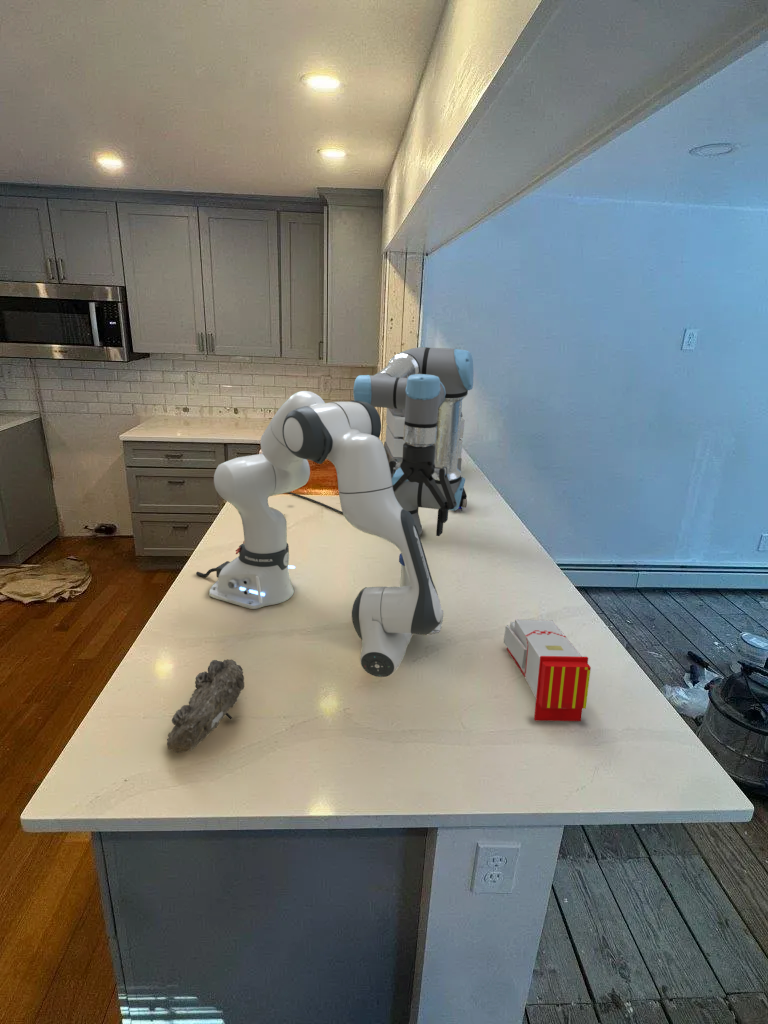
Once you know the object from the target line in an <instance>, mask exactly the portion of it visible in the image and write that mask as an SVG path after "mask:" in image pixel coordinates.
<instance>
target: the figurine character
mask: <svg viewBox="0 0 768 1024" xmlns="http://www.w3.org/2000/svg"><path fill="white" fill-rule="evenodd" d="M467 495H468V494H467V493H466V490H465V487H464V488H463V492H462V496H461V500H460V504H459V508H458V509H459V510H460V512H463V509H464V508H465V509H466V508H467V506H468V499H467V497H468V496H467ZM458 509H457V510H458Z"/></svg>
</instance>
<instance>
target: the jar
mask: <svg viewBox="0 0 768 1024" xmlns="http://www.w3.org/2000/svg"><path fill="white" fill-rule="evenodd" d="M405 586H411V584H410V581H409V577H408V574H407V570H406V567H405V566H403V565H401V564H400V576H399V587H405Z"/></svg>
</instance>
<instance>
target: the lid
mask: <svg viewBox="0 0 768 1024" xmlns="http://www.w3.org/2000/svg"><path fill="white" fill-rule="evenodd" d="M398 563H399V564H400V566H401V565H403V566H405V563H404V560H403V557H402V554H401V553H399V555H398Z"/></svg>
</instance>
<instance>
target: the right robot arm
mask: <svg viewBox="0 0 768 1024" xmlns="http://www.w3.org/2000/svg"><path fill="white" fill-rule="evenodd" d="M473 360H474V359H473V355H472V352H470V351H469V350H467V349H459V348H451V347H450V348H449V347H427V346H419V347H413V348H409V349H406V350H403V351H400V352H398V353H396V354H395V355H393V356H392V357H391V358H390V359H389V361H388V363H387V365H386V366H384V367H383V368H382V369H381V370H379V371H378V372H377V373H375V374H359V375H358V376H356V378H355V380H354V384H353V401H362V402H366V403H369V404H371V405H372V406H373V407H374V408H383V409H385V408H386V409H387V408H396V409H405V423H404V438H403V440H404V442H405V443H404V444H403V456H402V458H403V460H402V462H399V461H397V460H396V459H394V460H392V461H390V462H389V467H390V472H391V477H392V486H393V491H394V494H395V497H396V499H397V501H398V503H399V504H400V506H401V507H402V508H403V509H404V510H406V511H408V512H410V513H411V515H412V517H413V519H414V521H415V524H416V527H417V530H418V533H419V536H420V537H421V536H422V535H423V525H422V524H421V518H420V515H419V508H422V509H430V510H431V509H433V510H437V517H436V518H437V520H436V530H435V531H436V533H435V537H436V536H437V537H440V536H441V535H442V534H443V531H444V524H446V523H447V521H448V519H449V511H451V512H452V511H453V512H456V511H457V510H458V508H459V504H460V500H461V496H462V492H463V488H464V489H465V487H464V486H465V483H466V478H465V477H463V476H462V470H461V471H460V470H459V469H458V468H457V463H458V449H459V436H460V422H461V418H462V417H461V412H462V406H463V400H464V399H465V398H466V397H467V396H468V394H469V393H468V392H469V391H471V390H473V388H474V361H473ZM399 467H400V468H399ZM286 494H288V495H292V496H295V497H298V498H301V499H305V500H308V501H309V502H313V503H316V504H318V505H319V506H323V507H325V508H328V509H330V510H332V511H334V512H336V513H339V514H341V515H343V512H342V510H339V509H336V508H334V507H332V506H330V505H328V504H326V503H323V502H320V501H318V500H315V499H313V498H310V497H307V496H304V495H301V494H298V493H295V492H292V491H291V492H288V493H286ZM459 509H460V508H459Z"/></svg>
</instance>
